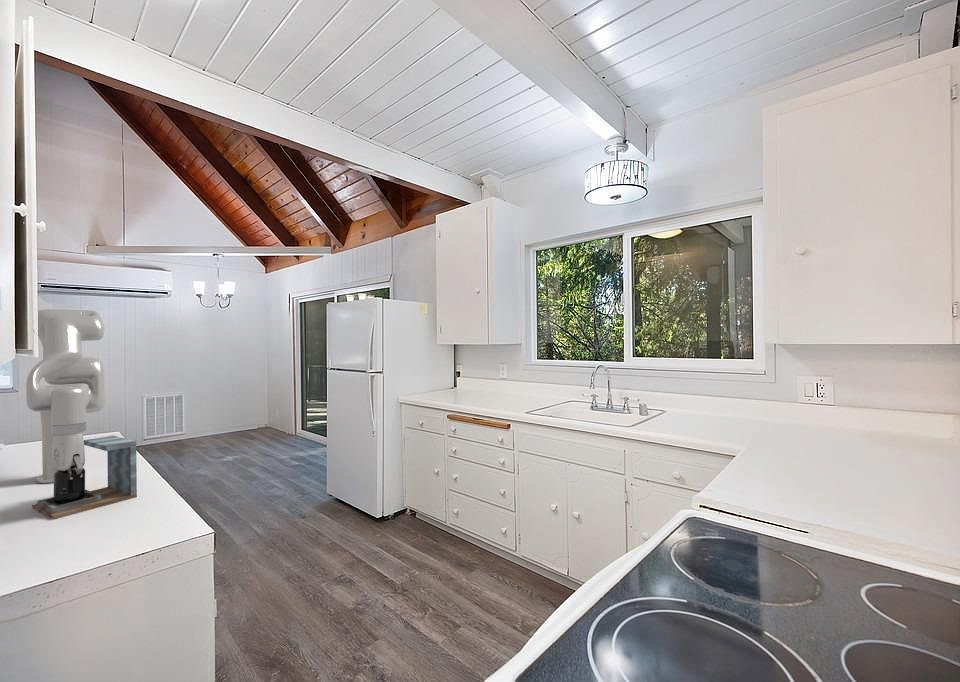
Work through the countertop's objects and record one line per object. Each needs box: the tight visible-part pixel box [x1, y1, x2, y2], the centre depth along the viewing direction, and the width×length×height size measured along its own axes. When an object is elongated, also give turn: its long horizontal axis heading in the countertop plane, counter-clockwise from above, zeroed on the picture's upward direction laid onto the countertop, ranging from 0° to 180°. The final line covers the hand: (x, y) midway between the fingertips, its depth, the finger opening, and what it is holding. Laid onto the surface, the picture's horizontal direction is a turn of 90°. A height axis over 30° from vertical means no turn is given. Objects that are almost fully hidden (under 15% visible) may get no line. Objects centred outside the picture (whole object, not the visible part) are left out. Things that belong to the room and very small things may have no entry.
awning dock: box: [31, 435, 138, 520], centre depth 133 cm, size 16×20×18 cm
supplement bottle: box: [53, 466, 86, 504], centre depth 130 cm, size 7×7×12 cm
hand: (69, 489), depth 130 cm, fingers closed on supplement bottle, 6 cm apart
